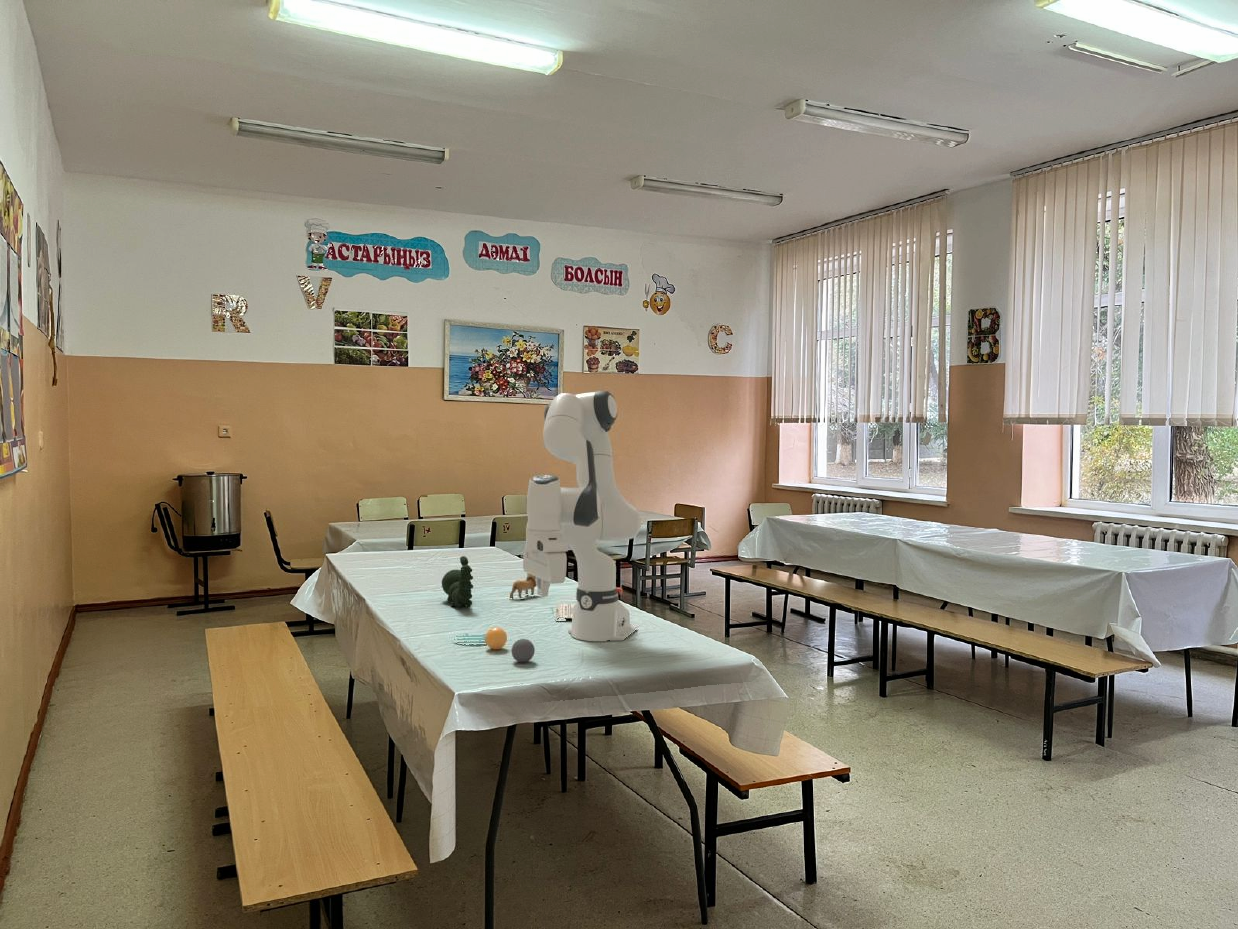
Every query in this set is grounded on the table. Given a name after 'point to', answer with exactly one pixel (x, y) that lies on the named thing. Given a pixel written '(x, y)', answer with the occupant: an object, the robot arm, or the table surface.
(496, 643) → the orange ball
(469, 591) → the toy figurine
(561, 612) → the newspaper
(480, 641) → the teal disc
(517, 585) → the lion figurine
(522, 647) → the dark grey ball
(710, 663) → the table surface
